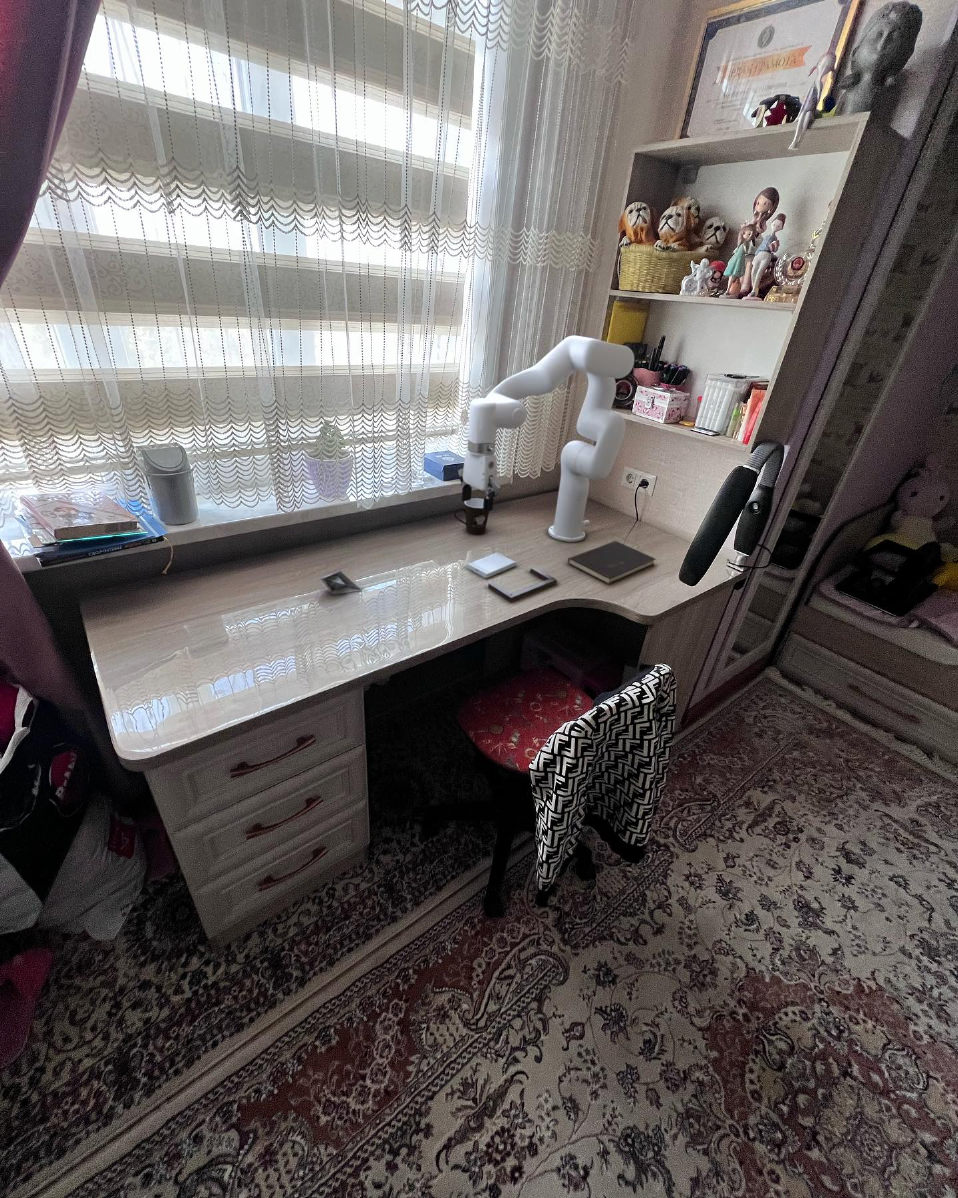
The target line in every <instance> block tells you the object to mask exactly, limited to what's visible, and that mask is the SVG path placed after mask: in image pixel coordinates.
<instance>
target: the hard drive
mask: <svg viewBox="0 0 958 1198" xmlns="http://www.w3.org/2000/svg"><path fill="white" fill-rule="evenodd" d="M516 565H517V562H516V561H515V560H514V559H511V558H509V557H507V556H505V555H503V554H501V553H499V552H495V553H493V554H490V555H487V556H485V557H482V558H480V559H477V560H474V561H472V562H469V563H467V564H466V568H467V569H468V570H470V571H472V572H474V573H475V574H477V575H479V576H480V577H482V578H484V579H488V578H490V577H493V576H495V575H497V574H500V573H502V572H504V571H507V570H509V569H512V568H513V567H516Z"/></svg>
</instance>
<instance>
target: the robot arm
mask: <svg viewBox="0 0 958 1198" xmlns="http://www.w3.org/2000/svg"><path fill="white" fill-rule="evenodd" d="M634 365H635V354H634V352H633V350H632V349H631V348H630V347H628V346H627V345H621V344H618V343H612V342H608V341H604V340H602V339H597V338H593V337H588V336H587V337H586V336H581V335H569V336H567V337H565V338H564V339H562V340H561V341H560V342H559V343H558V344H557V345H556V346H555V347H553V349H551V350H550V351H549V352H548V353H547V354H546V355H545V356H543V358H541V359H540V360H539V361H538V362H537V363H536V364H534V365H532V366H531V367H529V368H526V369H524V370H522V371H520V372H518V373H515V374H513V375H511V376H509V377H507V378H505V379H503V380H502V381H501V382H500V383H499V384H498V385H496V386H495V387H494V388H493V389H492V390H491V391H490V392H489V393H488V394H487V395H486V396H485V398H483V397H480V398H479V397H478V398H474V399H472V400H471V402H470V405H469V416H468V431H467V432H468V433H467V447H466V451H465V454H464V455H465V456H464V460H463V467H462V468H460V469H458V470H457V472H458V476H459V478H458V479H459V481H460V483H461V484H460V487H461V501H462V502H465V501H468V500H471V499H472V491H473V488H476V489H478V490H480V491H482V492H483V495H484V497H485V498H483V499H484V502H483V512H488V511H489V512H492V511H493V509H494V499H495V498H496V497H497V495H499V492H500V490H501V484H499V482H498V481H497V480H498V461H497V460H498V459H497V454H496V450H497V449H496V440H497V439H496V438H497V429H498V428H499V429H508V430H509V429H510V430H515V429H517V428H520V427H521V426H523V425H524V423H525V422H526V421H527V417H528V411H527V407H526V406H525V404H524V403H522V402H521V401H520V400H522V399H525V398H528V397H533V396H541V395H546V394H550V393H552V392H554V391H555V390H556V389H557V388H559V386H561V385H562V384H563V383H564V382H565V381H566V380H567V379H568V378H570V377H571V376H572V375H573V374H574V373H575V372H576V371H579V372H583V373H586V376H587V381H588V382H587V383H588V385H587V391H586V394H585V397H584V400H583V404H582V406H581V408H580V409H581V410H580V412H579V415H578V418H577V422H576V431H577V434H579V435H580V436H581V437H584V438H586V439H589V440H591V441H593V442H596V443H595V445H593V444H591V443H589V442H585V441H582V440H571V441H569V442H568V443H566V444H565V445H564V447H563V448H562V451H561V453H560V481H559V488H558V495H557V502H556V508H555V514H554V522H553V525H551V526H550V527H549V528H548V530H547V532H548V533H547V534H548V535H549V536H550V537H552V538H553V539H554V540H557V541H561V542H567V543H575V542H581V541H582V540H584V539H585V538H586V532H585V531H584V530H583V529H584V528H585V527H588V526H589V525H590V524H591V521H590V520H589V519H586V520H584V517H585V514H586V513H585V512H586V507H587V501H588V497H589V491H590V480H591V481H596V482H597V481H598V482H599V481H603V480H604V479H606V478H607V477H608V476H609V475H610V473H611V471H612V469H613V467H614V465H615V462H616V459H617V457H618V454H619V452H620V449H621V447H622V443H623V441H624V437H625V435H626V431H627V429H626V427H627V424H626V420H625V418H624V417H623V416H622V415H621V414H620V413H617V412H615V411H612V407H613V404H614V400H615V397H616V394H617V384H616V379H623V378H625V377H626V376H628V375H629V374H630V372H632V369H634Z"/></svg>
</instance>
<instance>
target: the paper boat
mask: <svg viewBox="0 0 958 1198" xmlns="http://www.w3.org/2000/svg"><path fill="white" fill-rule="evenodd" d="M320 580H321V582H323V584H324V585H325V586H326V587H327V589H328V590H329V591H330V593H331V594H332V595H339V594H346V593H352V592H360V591H362V589H361V588H360V587H359V586H358V585H356V583H354V582H353V581H352V580H351V579H350V578H349V577H348V576H347V575H346V574H345V573H343V572H342V571H341V570H339V571H336V572H332V573H330V574H327V575H324V576H323V577H322V576H321V577H320Z"/></svg>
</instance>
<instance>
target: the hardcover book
mask: <svg viewBox="0 0 958 1198" xmlns="http://www.w3.org/2000/svg"><path fill="white" fill-rule="evenodd" d="M655 560H656V558H655V557H653V556H650V555H649V554H647V553H644V552H642V551H639V550H637V549H635V548H633V547H631V546H628V545H626V544H625V543H622V542H620V541H617V540H614V541H611V542H608V543H606V544H603V545H600V546H598V547H595V548H592V549H590V550H586V551H583V552H581V553H578V554H575V555H573V556H570V557H568V558H567V564H568V565H569V566H571V567H573V568H575V569H577V570H579V571H580V572H583V573H585V574H586V575H588V576H591V577H592V578H594V579H596V580H598V581H600V582H602V583H604V584H606V585H612V584H614V583H616V582H619V581H621V580H623V579H626V578H627V577H630V576H632V575H634V574H637V573H639V572H641V571H644V570H646V569H648V568H651V567H653V566H654V565H655V564H654V562H655Z"/></svg>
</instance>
